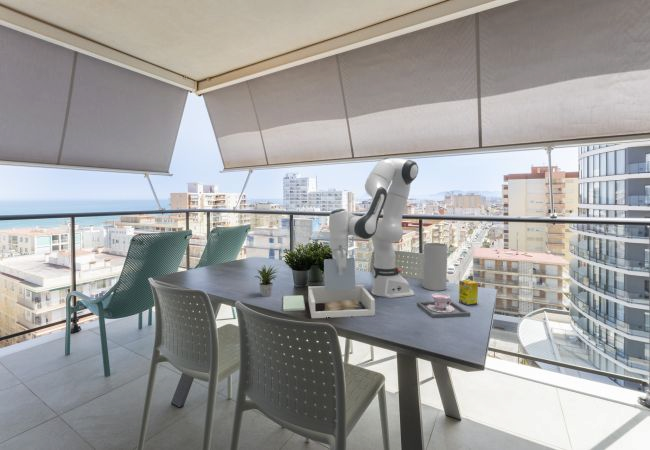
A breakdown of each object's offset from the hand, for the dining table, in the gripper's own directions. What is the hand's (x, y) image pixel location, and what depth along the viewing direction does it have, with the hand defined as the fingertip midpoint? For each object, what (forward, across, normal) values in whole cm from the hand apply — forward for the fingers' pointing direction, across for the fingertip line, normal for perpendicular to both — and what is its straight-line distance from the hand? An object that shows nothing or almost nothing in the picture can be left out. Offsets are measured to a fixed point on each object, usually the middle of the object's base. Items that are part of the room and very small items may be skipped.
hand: (339, 273), depth 154 cm
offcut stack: (+16, -7, +1) cm, 18 cm away
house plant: (+15, +23, +36) cm, 45 cm away
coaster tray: (+17, -10, -45) cm, 49 cm away
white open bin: (+16, -2, +1) cm, 16 cm away
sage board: (+15, +8, +22) cm, 28 cm away
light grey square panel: (+7, 0, 0) cm, 7 cm away
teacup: (+17, -8, -46) cm, 50 cm away
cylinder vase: (+18, +26, -58) cm, 66 cm away
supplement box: (+18, -2, -62) cm, 65 cm away
